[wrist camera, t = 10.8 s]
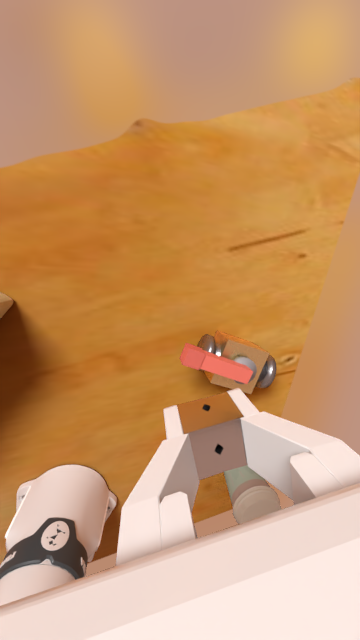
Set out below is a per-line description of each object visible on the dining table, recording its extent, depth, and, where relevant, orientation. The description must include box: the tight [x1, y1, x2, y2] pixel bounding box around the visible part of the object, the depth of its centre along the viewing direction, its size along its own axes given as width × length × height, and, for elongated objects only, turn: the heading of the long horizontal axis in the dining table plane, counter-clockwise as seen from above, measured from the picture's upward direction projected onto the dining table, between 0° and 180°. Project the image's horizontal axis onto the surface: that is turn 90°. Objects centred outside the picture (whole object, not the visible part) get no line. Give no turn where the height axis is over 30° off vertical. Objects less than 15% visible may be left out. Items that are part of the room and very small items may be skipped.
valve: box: [197, 330, 276, 394], centre depth 39 cm, size 8×13×6 cm, turn 70°
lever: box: [180, 343, 257, 384], centre depth 34 cm, size 13×4×4 cm, turn 68°
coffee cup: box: [224, 465, 281, 524], centre depth 42 cm, size 8×8×12 cm
